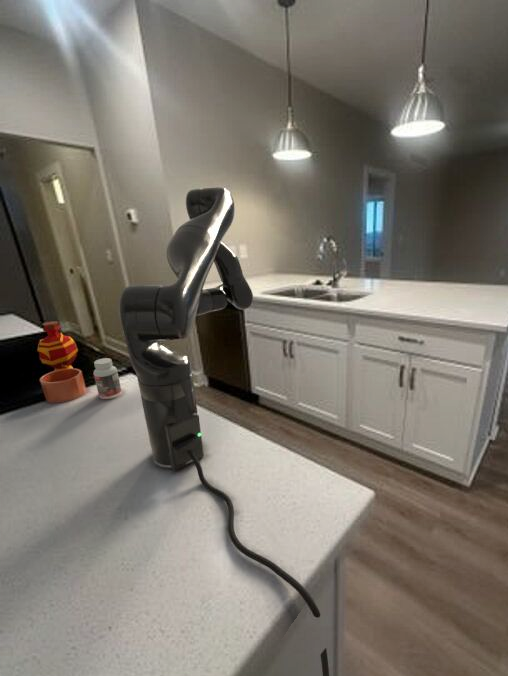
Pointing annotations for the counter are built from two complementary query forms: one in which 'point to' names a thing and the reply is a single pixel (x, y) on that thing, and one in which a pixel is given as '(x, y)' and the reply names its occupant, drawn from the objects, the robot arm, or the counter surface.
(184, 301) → the robot arm
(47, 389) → the pot
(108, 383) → the pill bottle
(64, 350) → the potion bottle
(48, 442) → the counter surface
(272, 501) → the counter surface
